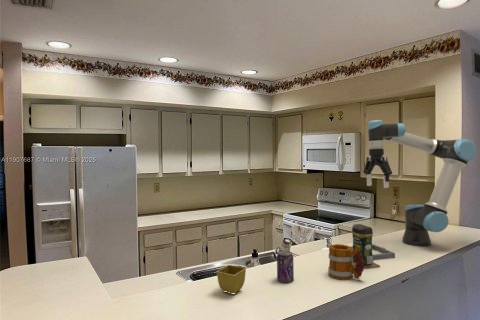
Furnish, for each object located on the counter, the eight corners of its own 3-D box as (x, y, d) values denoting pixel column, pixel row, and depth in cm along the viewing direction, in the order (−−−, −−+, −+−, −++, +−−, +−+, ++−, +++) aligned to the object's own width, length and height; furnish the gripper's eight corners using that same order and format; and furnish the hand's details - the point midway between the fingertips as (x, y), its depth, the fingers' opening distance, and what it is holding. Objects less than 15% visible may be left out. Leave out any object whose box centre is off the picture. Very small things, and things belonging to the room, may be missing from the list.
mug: (335, 269, 152) (334, 237, 151) (369, 278, 140) (369, 244, 140) (322, 275, 144) (322, 242, 144) (358, 285, 132) (357, 249, 132)
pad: (365, 259, 164) (365, 258, 164) (379, 267, 153) (379, 265, 153) (346, 262, 161) (346, 260, 161) (359, 269, 150) (359, 267, 150)
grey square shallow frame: (373, 248, 183) (373, 243, 183) (395, 257, 166) (394, 251, 166) (347, 251, 179) (347, 245, 179) (366, 260, 162) (366, 254, 162)
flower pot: (235, 298, 122) (234, 275, 122) (216, 293, 127) (216, 271, 127) (246, 290, 130) (246, 268, 130) (228, 285, 134) (228, 264, 134)
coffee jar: (349, 260, 161) (348, 223, 160) (362, 258, 163) (362, 222, 163) (362, 266, 151) (361, 227, 151) (376, 264, 154) (375, 226, 154)
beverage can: (283, 284, 134) (283, 256, 134) (274, 279, 141) (273, 251, 141) (297, 281, 138) (296, 253, 138) (287, 276, 144) (286, 249, 144)
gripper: (356, 149, 188) (357, 185, 189) (386, 147, 164) (388, 189, 165) (367, 148, 190) (368, 184, 191) (398, 147, 166) (400, 188, 167)
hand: (377, 186), depth 178 cm, fingers open, 13 cm apart
